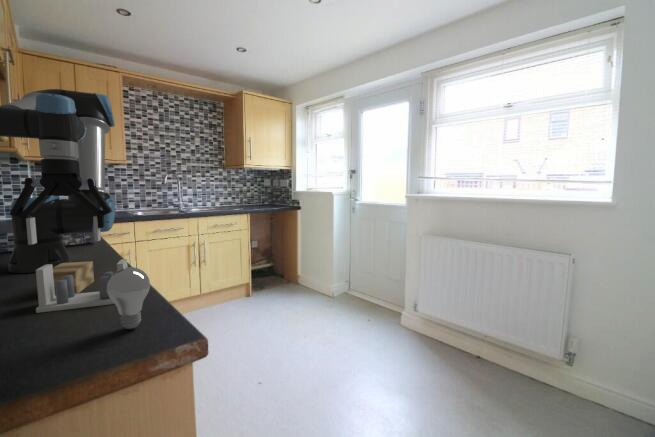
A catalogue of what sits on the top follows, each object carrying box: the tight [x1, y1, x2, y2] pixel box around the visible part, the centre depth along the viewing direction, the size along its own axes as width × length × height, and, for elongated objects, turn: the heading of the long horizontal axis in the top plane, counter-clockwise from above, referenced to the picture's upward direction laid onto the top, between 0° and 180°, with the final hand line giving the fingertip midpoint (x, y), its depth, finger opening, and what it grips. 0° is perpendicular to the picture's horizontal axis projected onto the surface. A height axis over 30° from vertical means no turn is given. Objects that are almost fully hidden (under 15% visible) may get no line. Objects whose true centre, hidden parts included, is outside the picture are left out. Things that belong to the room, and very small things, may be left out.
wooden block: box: [53, 260, 95, 296], centre depth 83 cm, size 11×7×6 cm, turn 18°
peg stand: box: [35, 258, 128, 314], centre depth 74 cm, size 8×16×9 cm, turn 113°
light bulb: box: [107, 266, 151, 331], centre depth 60 cm, size 7×7×12 cm
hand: (66, 242), depth 82 cm, fingers open, 13 cm apart
